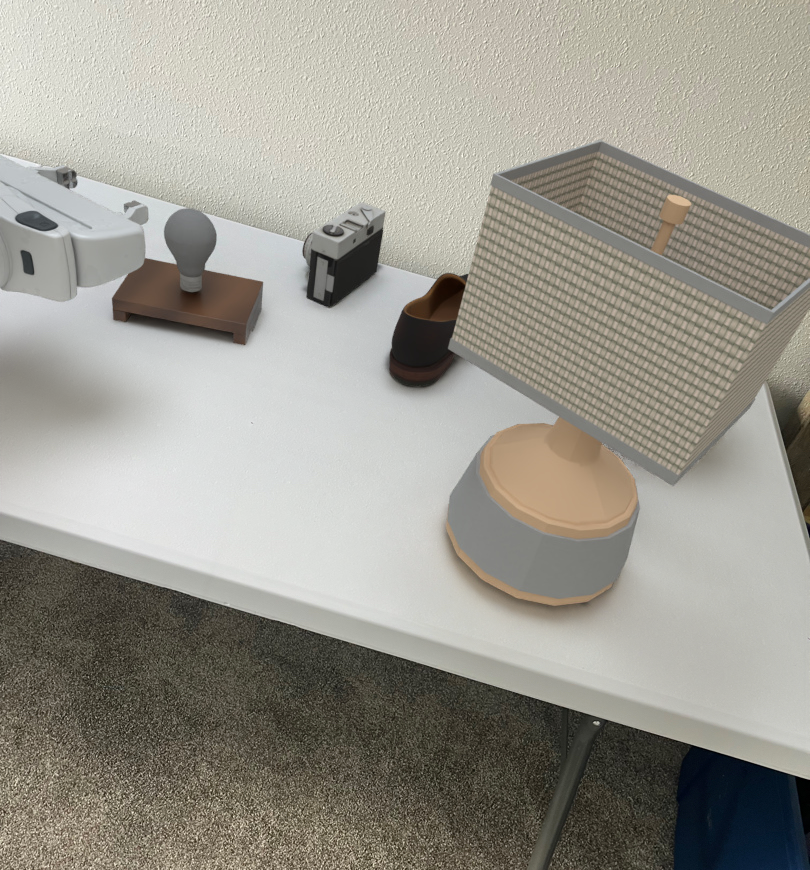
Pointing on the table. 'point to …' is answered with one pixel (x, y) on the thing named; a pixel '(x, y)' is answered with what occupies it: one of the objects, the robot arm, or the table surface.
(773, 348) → the desk lamp
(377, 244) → the camera
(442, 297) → the loafer
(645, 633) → the table surface
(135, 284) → the shelf
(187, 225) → the light bulb
